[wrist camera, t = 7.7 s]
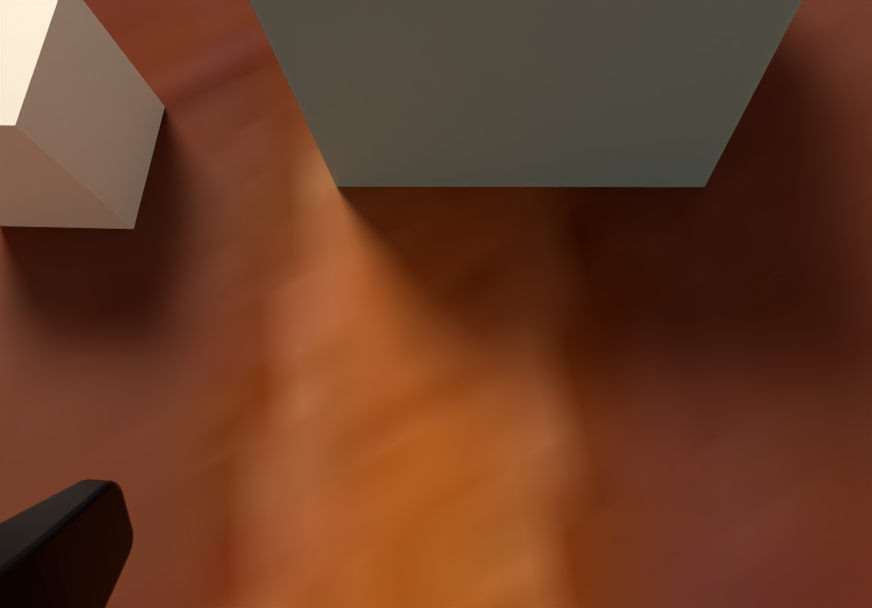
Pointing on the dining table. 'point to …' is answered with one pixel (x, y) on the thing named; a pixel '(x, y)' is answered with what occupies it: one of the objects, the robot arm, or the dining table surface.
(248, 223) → the dining table surface
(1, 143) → the cream block
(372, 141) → the teal block
